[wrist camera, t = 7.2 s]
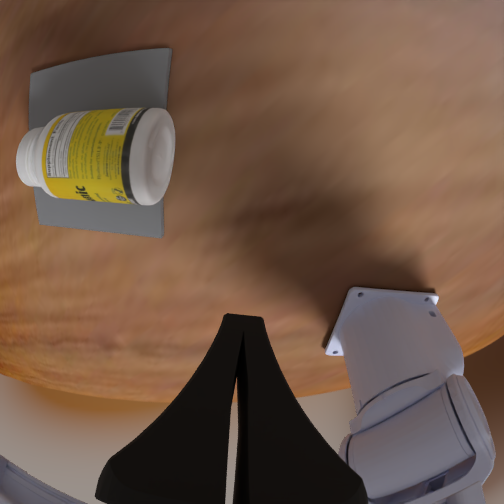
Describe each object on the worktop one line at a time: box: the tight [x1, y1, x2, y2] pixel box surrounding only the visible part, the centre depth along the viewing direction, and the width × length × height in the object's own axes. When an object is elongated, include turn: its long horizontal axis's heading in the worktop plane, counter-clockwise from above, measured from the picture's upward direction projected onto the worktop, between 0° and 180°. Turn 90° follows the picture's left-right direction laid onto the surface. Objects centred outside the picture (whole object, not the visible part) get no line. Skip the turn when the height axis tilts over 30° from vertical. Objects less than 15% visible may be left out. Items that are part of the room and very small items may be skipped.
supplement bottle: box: [16, 108, 175, 205], centre depth 14 cm, size 5×5×10 cm
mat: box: [29, 48, 172, 238], centre depth 16 cm, size 12×13×1 cm
